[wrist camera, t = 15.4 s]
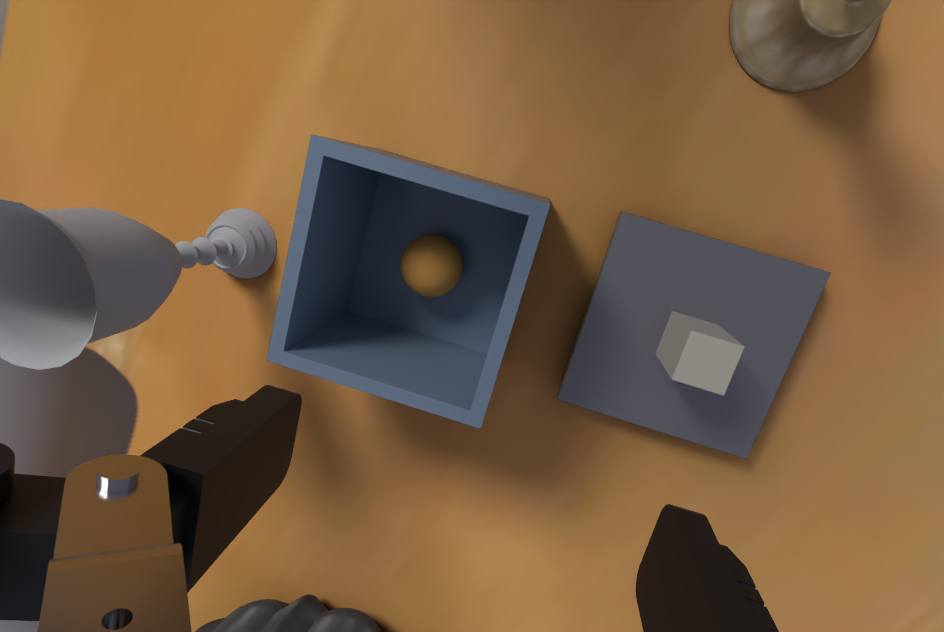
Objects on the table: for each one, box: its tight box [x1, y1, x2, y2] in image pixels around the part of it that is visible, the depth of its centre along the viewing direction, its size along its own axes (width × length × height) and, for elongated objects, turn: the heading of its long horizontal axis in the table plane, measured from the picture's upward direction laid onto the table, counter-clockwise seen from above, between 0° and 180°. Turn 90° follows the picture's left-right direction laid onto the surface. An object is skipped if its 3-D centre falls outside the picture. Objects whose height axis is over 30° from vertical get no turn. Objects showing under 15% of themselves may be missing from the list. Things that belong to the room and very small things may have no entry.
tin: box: [267, 134, 550, 429], centre depth 34 cm, size 12×12×11 cm
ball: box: [400, 234, 463, 297], centre depth 37 cm, size 4×4×4 cm
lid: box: [557, 211, 830, 459], centre depth 35 cm, size 13×13×7 cm
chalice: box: [0, 200, 276, 370], centre depth 32 cm, size 7×7×18 cm
